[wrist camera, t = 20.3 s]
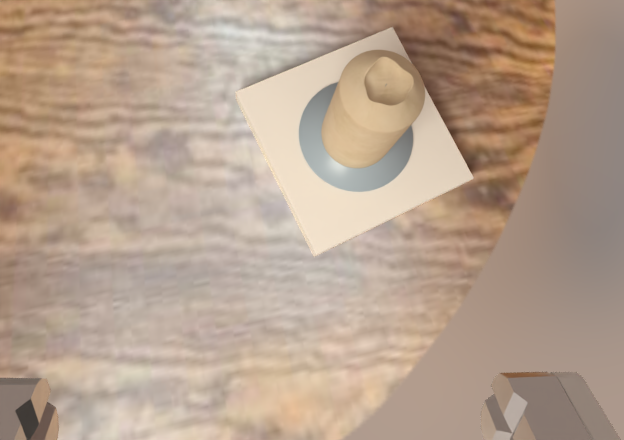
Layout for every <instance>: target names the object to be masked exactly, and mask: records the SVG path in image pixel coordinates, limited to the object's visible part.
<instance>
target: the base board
mask: <svg viewBox="0 0 624 440" xmlns="http://www.w3.org/2000/svg"><path fill="white" fill-rule="evenodd" d="M371 50H387V51H391V52H395V53H397V54H399V55H401V56H403V57H404V58H406V59H407V60H409V61H410V62H411V60H410V59H409V57H408V55H407V53H406V51H405V49H404V47H403V46H402V44H401V42H400V40H399V38H398V36H397V34H396V33H395V31H394V29H393V27H391V28H389V29H386V30H384V31H381V32H379V33H377V34H374V35H372V36H369V37H367V38H364V39H362V40H360V41H357V42H355V43H352V44H350V45H348V46H345V47H343V48H340V49H338V50H335V51H333V52H331V53H328V54H326V55H323V56H321V57H319V58H316V59H314V60H311V61H309V62H306V63H304V64H302V65H299V66H297V67H294V68H292V69H290V70H287V71H285V72H282V73H280V74H278V75H275V76H273V77H270V78H268V79H265V80H263V81H261V82H258V83H256V84H253V85H251V86H249V87H246V88H244V89H241V90H239V91H236V101H237V103H238V105H239V107H240V109H241V111H242V113H243V115H244V117H245V119H246V121H247V123H248V125H249V127H250V129H251V131H252V133H253V135H254V137H255V139H256V141H257V143H258V145H259V147H260V149H261V151H262V153H263V155H264V157H265V159H266V161H267V163H268V165H269V167H270V169H271V171H272V173H273V175H274V177H275V180H276V182H277V184H278V186H279V188H280V190H281V192H282V194H283V196H284V198H285V200H286V202H287V204H288V206H289V208H290V210H291V212H292V214H293V216H294V218H295V220H296V222H297V224H298V226H299V228H300V230H301V232H302V234H303V236H304V238H305V240H306V242H307V244H308V246H309V248H310V250H311V252H312V254H313V256H314V257H316V256H318V255H320V254H322V253H324V252H326V251H328V250H330V249H332V248H334V247H336V246H338V245H340V244H342V243H344V242H346V241H348V240H350V239H352V238H355V237H357V236H359V235H361V234H363V233H365V232H367V231H369V230H371V229H373V228H375V227H377V226H379V225H381V224H383V223H385V222H387V221H389V220H391V219H393V218H396V217H398V216H400V215H402V214H404V213H406V212H408V211H410V210H412V209H414V208H416V207H418V206H420V205H422V204H424V203H426V202H428V201H430V200H432V199H434V198H437V197H439V196H441V195H443V194H445V193H447V192H449V191H451V190H453V189H455V188H457V187H459V186H461V185H463V184H465V183H467V182H469V181H470V180H472V179H474V177H473V176H472V174H471V172H470V170H469V168H468V166H467V164H466V163H465V161H464V159H463V157H462V155H461V153H460V151H459V150H458V148H457V146H456V144H455V142H454V140H453V138H452V137H451V135H450V133H449V131H448V129H447V127H446V125H445V124H444V122H443V120H442V118H441V116H440V114H439V112H438V111H437V109H436V107H435V105H434V103H433V101H432V99H431V98H430V96H429V94H428V92H427V90H426V88H425V86H424V88H425V101H424V105H423V108H422V111H421V113H420V114H419V116H418V117H417V119H416V120H415V121H414V122H413V123H412V125H411V126H410V127H409V128H408V129H407V130H406V132H405V133H404V134H403V135H402V136H401V137H400V139H399V140H398V141H397V142H396V143H395V144H394V146H393V147H392V148H391V149H390V150H389V151H388V153H387V154H386V155H385V156H384V157H383V158H382V159H381V160H380V161H378V162H377V163H375V164H373V165H371V166H369V167H365V168H350V167H346V166H343V165H341V164H339V163H338V162H336V161H335V160H334V159H333V158H332V157H331V156H330V155H329V154H328V153H327V151H326V149H325V147H324V145H323V142H322V136H321V129H322V123H323V120H324V117H325V115H326V112H327V110H328V107H329V105H330V102H331V100H332V97H333V94H334V92H335V89H336V87H337V84H338V82H339V79H340V77H341V74H342V72H343V70H344V68H345V67H346V65H347V64H348V63H349V62H350V61H351V60H352V59H353V58H354V57H356V56H357V55H359V54H361V53H364V52H366V51H371ZM411 63H412V62H411Z"/></svg>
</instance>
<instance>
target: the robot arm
mask: <svg viewBox="0 0 624 440" xmlns="http://www.w3.org/2000/svg"><path fill="white" fill-rule="evenodd" d="M491 387H492V389H493V391H494V395H492V396H491V397H489V398H488V399H487V400H485V402H484V405H483V407H482V411H481V431H482V436H483V439H484V440H621V439H620V438H619V436H618V435H617V433H616V431H615V429H614V428H613V426H612V425H611V423H610V421H609V420H608V418H607V416H606V415H605V413H604V411H603V410H602V408H601V406H600V405H599V403H598V401H597V400H596V398H595V397H594V395H593V393H592V392H591V390H590V388H589V387H588V385H587V384H586V382H585V380H584V379H583V377H582V376H581V375H579V374H578V373H577V372H551V373H548V372H521V373H499V374H498V375H497V376H495V378H494V380H493V382H492V384H491ZM50 393H51V389H50V387H49V384H48V381H47V379H42V378H0V440H57V438H58V431H59V423H58V414H57V410H56V407H54V406H53V405H52V404H50V403H49V402H47V401H48V398H49V395H50Z"/></svg>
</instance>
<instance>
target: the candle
mask: <svg viewBox="0 0 624 440" xmlns="http://www.w3.org/2000/svg"><path fill="white" fill-rule="evenodd" d="M424 101H425V88H424V83H423V80H422V78H421V76H420V74H419V72H418V70H417V69H416V68H415V66H414V65H413V64H412V63H411V62H410V61H409V60H407V59H406V58H404V57H403V56H401V55H399V54H397V53H395V52H391V51H387V50H371V51H366V52H364V53H361V54H359V55H357V56H356V57H354V58H353V59H352V60H351V61H350V62H349V63H348V64H347V65H346V67H345V68H344V70H343V72H342V74H341V77H340V79H339V82H338V84H337V87H336V89H335V92H334V94H333V97H332V100H331V102H330V105H329V107H328V110H327V112H326V115H325V117H324V120H323V123H322V129H321V136H322V142H323V145H324V147H325V149H326V151H327V153H328V154H329V155H330V156H331V157H332V158H333V159H334V160H335V161H336V162H338V163H339V164H341V165H343V166H346V167H350V168H365V167H369V166H371V165H373V164H375V163H377V162H378V161H380V160H381V159H382V158H383V157H384V156H385V155H386V154H387V153H388V151H389V150H390V149H391V148H392V147H393V146H394V144H395V143H396V142H397V141H398V140H399V139H400V137H401V136H402V135H403V134H404V133H405V132H406V130H407V129H408V128H409V127H410V126H411V125H412V123H413V122H414V121H415V120H416V119H417V117H418V116H419V114H420V113H421V111H422V108H423V105H424Z"/></svg>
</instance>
